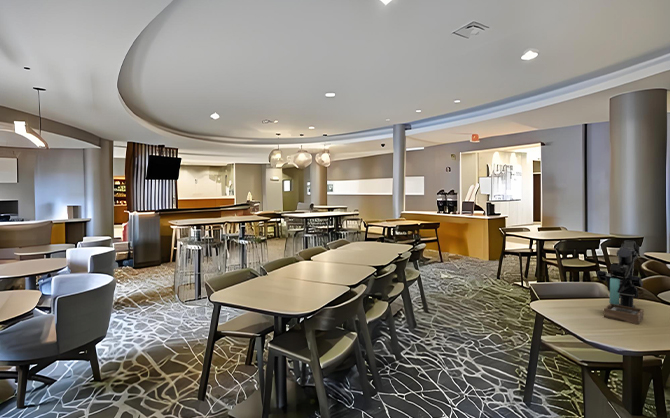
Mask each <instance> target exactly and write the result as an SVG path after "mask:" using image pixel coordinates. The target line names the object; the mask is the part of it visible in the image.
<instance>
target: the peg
mask: <svg viewBox="0 0 670 418" xmlns="http://www.w3.org/2000/svg"><path fill="white" fill-rule="evenodd" d="M619 287H620V279H617V278H610V291H609V304H610V303H611V304H616V305H619V304H620V295H619V293H618V289H619Z"/></svg>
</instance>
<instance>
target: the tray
mask: <svg viewBox="0 0 670 418" xmlns="http://www.w3.org/2000/svg"><path fill="white" fill-rule="evenodd" d="M603 318H606V319H610V320H615V321H620V322H625V323H628V324H629V323H630V324H633V325H639V324H640V323H641V322H642V320H643V319H644V309H642V308H637V307H634V308H632V307H627V306H622V305H619V304H618V305H616V304H611V303H609V304H608V305H607V306H605V307H604V308H603Z"/></svg>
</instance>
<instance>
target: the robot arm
mask: <svg viewBox="0 0 670 418" xmlns="http://www.w3.org/2000/svg"><path fill="white" fill-rule="evenodd" d="M640 252H641V249H640V245H639V244H637V243H636V241H634V240H628V239H627V240H624V241H623V242H622V243H621V246H620V247H619V249H617V252H616V257H617V259H618V263H617V264H616V263H615V264H614V263H611V264H610V267H609V271H611V273H608V272H607V271H605V270H598V271H597V272H596V276H597V277H598V280H599V281H604V282H606V283H607V290H608V292H610V278H617V279H620V287H619V289H618V293H619V304H618V305H622V306H627V307H632V308H636V307H635V305H634V299H638V298H639V290H638V288H643V286H644V285H643V284H644V282H643V280H642V278H641V277H640V276H635V275H634V265H635V261H636V260H637V259H638V258H639V255H640Z"/></svg>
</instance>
